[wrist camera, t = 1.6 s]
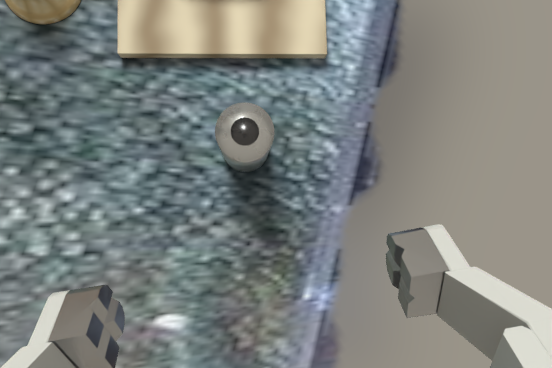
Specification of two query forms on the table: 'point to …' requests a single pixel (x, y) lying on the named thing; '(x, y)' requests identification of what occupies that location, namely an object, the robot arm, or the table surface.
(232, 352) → the table surface
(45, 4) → the hand bell
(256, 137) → the sleeve
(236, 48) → the hub board
